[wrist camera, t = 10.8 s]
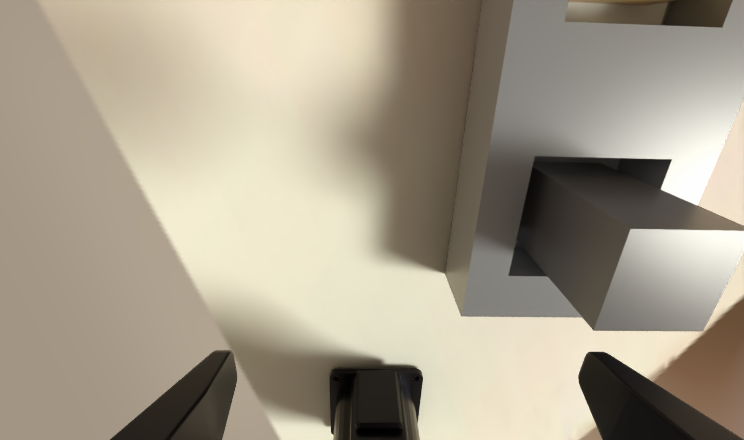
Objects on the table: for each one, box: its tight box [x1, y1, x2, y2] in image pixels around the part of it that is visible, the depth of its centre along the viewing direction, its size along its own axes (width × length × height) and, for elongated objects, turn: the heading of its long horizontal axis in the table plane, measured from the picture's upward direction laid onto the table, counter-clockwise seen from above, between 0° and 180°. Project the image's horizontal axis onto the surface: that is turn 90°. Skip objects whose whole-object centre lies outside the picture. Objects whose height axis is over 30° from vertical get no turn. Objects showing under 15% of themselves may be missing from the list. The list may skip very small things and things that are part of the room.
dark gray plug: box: [516, 161, 744, 331], centre depth 16 cm, size 4×4×8 cm
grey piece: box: [445, 0, 744, 317], centre depth 16 cm, size 22×10×4 cm, turn 178°
